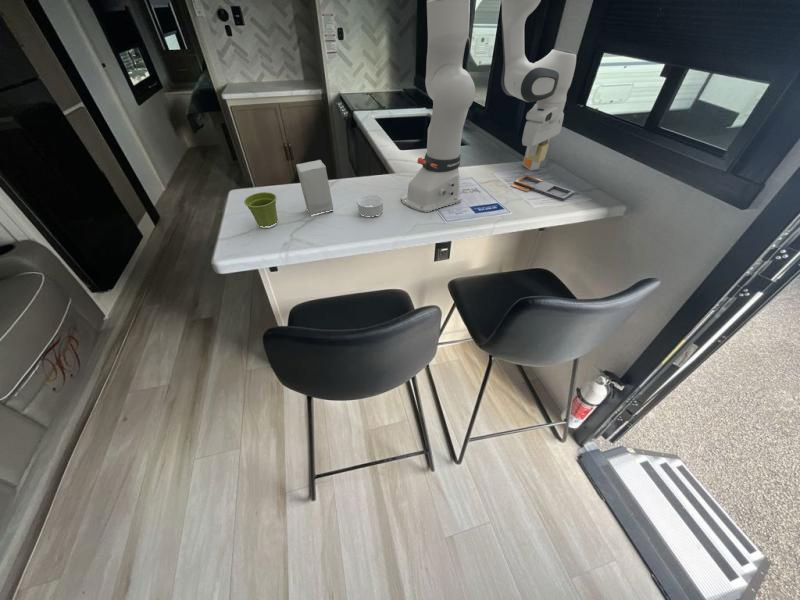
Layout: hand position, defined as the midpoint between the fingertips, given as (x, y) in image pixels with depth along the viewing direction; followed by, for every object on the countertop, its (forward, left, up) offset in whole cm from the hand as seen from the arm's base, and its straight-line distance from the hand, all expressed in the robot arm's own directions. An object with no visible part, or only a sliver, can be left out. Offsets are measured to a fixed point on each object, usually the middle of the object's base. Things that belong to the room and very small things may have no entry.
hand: (537, 153), depth 117 cm
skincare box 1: (-70, +38, -12) cm, 81 cm away
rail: (-2, -6, -11) cm, 13 cm away
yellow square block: (0, 0, -2) cm, 2 cm away
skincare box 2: (+15, +8, -12) cm, 20 cm away
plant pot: (-87, +42, -12) cm, 98 cm away
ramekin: (-58, +25, -12) cm, 64 cm away
